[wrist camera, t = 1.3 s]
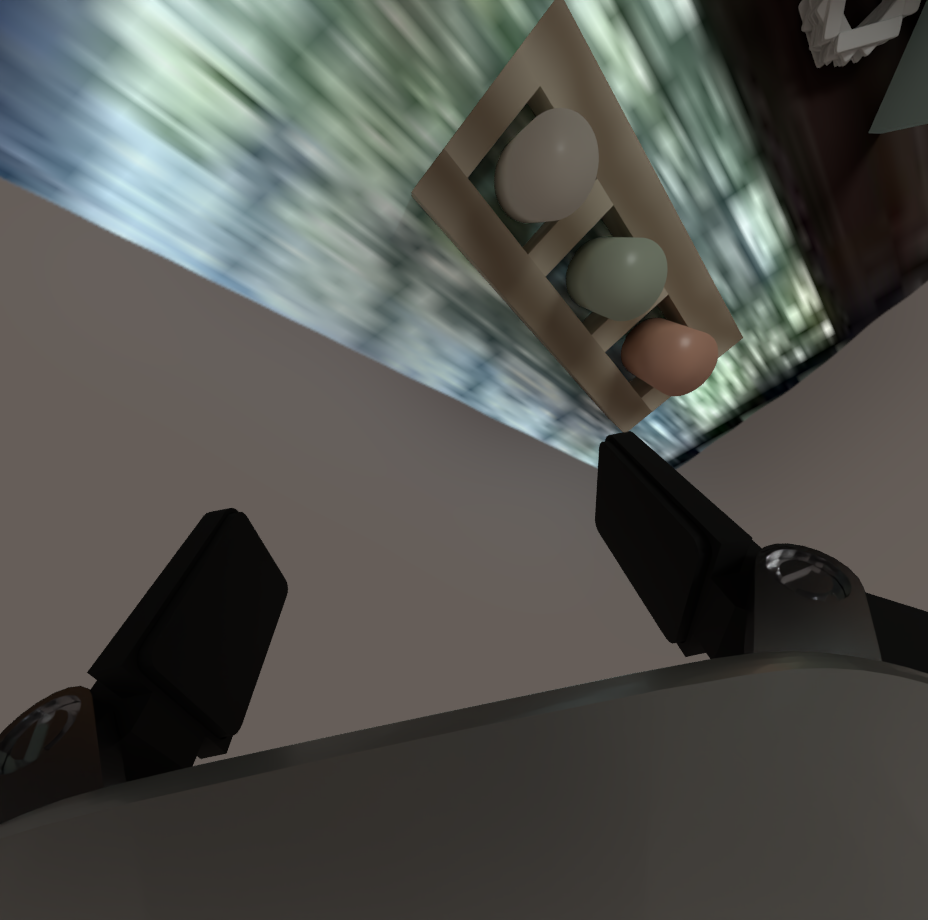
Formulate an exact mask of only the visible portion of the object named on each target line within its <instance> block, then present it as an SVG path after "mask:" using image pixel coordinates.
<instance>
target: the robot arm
mask: <svg viewBox="0 0 928 920" xmlns="http://www.w3.org/2000/svg"><path fill="white" fill-rule="evenodd" d="M595 523H596V527H597V530H598V532H599V533H600V535H601V537H602V538H603V540H604V541H605V543H606V544H607V546H608V548H609V549H610V551H611V552H612V554H613V556H614V557H615V559H616V560H617V562H618V563H619V565H620V567H621V568H622V570H623V571H624V573H625V574H626V576H627V578H628V579H629V581H630V582H631V584H632V585H633V587H634V589H635V590H636V592H637V593H638V595H639V597H640V598H641V599H642V601H643V603H644V604H645V606H646V607H647V609H648V611H649V612H650V614H651V615H652V617H653V619H654V620H655V622H656V623H657V625H658V626H659V628H660V630H661V631H662V633H663V634H664V636H665V637H666V639H667V640H668V641H669V642H671V643H677V644H678V646H679V648H680V649H681V651H682V652H683V654H684V655H685V657H688V656H692V655H697V654H702V653H707V655H708V656H709V657H710V660H703V661H698V662H693V663H688V664H682V665H677V666H671V667H666V668H661V669H656V670H650V671H644V672H639V673H633V674H629V675H624V676H619V677H614V678H609V679H604V680H599V681H595V682H589V683H585V684H580V685H575V686H570V687H565V688H560V689H555V690H550V691H545V692H541V693H536V694H531V695H526V696H521V697H516V698H511V699H506V700H502V701H497V702H492V703H487V704H482V705H478V706H473V707H468V708H463V709H459V710H454V711H449V712H444V713H440V714H435V715H430V716H425V717H421V718H416V719H411V720H406V721H402V722H397V723H392V724H388V725H383V726H378V727H374V728H369V729H364V730H359V731H354V732H350V733H345V734H340V735H335V736H331V737H326V738H321V739H317V740H312V741H307V742H303V743H298V744H294V745H289V746H284V747H280V748H275V749H270V750H266V751H261V752H257V753H252V754H248V755H243V756H238V757H234V758H229V759H224V760H220V761H215V762H211V763H206V764H201V765H197V766H193V764H194V761H195V759H196V756H198V757H199V758H201V759H203V758H207V757H212V756H217V755H222V754H226V753H227V751H228V748H229V745H230V742H231V739H232V737H233V735H235V734H236V733H237V732H238V731H239V729H240V728H241V725H242V723H243V720H244V717H245V714H246V711H247V709H248V706H249V703H250V700H251V697H252V694H253V691H254V688H255V686H256V682H257V680H258V677H259V674H260V671H261V668H262V665H263V663H264V660H265V657H266V654H267V651H268V648H269V645H270V642H271V639H272V636H273V634H274V631H275V628H276V625H277V622H278V619H279V617H280V614H281V611H282V608H283V605H284V602H285V599H286V596H287V593H288V585H287V582H286V580H285V578H284V576H283V575H282V573H281V571H280V570H279V568H278V566H277V565H276V563H275V562H274V560H273V558H272V557H271V555H270V553H269V552H268V550H267V549H266V547H265V545H264V544H263V542H262V540H261V539H260V537H259V536H258V534H257V532H256V531H255V530H254V527H253V526H252V524H251V522H250V521H249V519H248V518H247V516H246V515H245V514H244V513H243V512H238V511H237V510H236V509H234V508H229V509H223V510H218V511H213V512H209V513H206V514H205V515H204V516H203V518H202V519H201V520H200V522H199V523H198V524H197V526H196V527H195V528H194V530H193V531H192V532H191V534H190V535H189V536H188V538H187V539H186V540H185V542H184V543H183V544H182V546H181V547H180V549H179V550H178V551H177V552H176V554H175V555H174V557H173V558H172V559H171V561H170V562H169V563H168V565H167V566H166V567H165V569H164V570H163V571H162V573H161V574H160V575H159V577H158V578H157V579H156V581H155V582H154V584H153V585H152V586H151V587H150V589H149V590H148V591H147V593H146V594H145V595H144V597H143V598H142V599H141V601H140V602H139V604H138V605H137V606H136V608H135V609H134V610H133V612H132V613H131V614H130V616H129V617H128V618H127V620H126V621H125V622H124V624H123V625H122V627H121V628H120V629H119V630H118V632H117V633H116V635H115V636H114V637H113V638H112V640H111V641H110V642H109V644H108V645H107V647H106V648H105V649H104V651H103V652H102V653H101V655H100V656H99V657H98V659H97V660H96V661H95V663H94V664H93V665H92V667H91V668H90V669H89V671H88V672H87V673H88V674H90V675H91V676H92V677H94V678H95V679H96V680H97V681H96V683H95V684H94V686H93V687H92V688H91V690H90V689H88V688H85V687H82V686H76V687H68V688H66V689H63V690H61V691H58V692H55V693H53V694H51V695H50V696H48V697H46V698H45V699H42V700H41V701H39V702H37V703H36V704H35V705H33V706H32V707H30V708H29V709H28V710H26V711H25V712H23V713H22V714H21V715H20V716H19V717H17V718H16V719H15V720H14V721H13V722H12V723H11V724H10V725H8V726H7V727H6V728H5V729H4V730H3V731H2V733H1V734H0V920H928V612H926V611H923V610H920V609H917V608H914V607H910V606H907V605H904V604H901V603H897V602H894V601H891V600H888V599H885V598H882V597H878V596H875V595H871V594H868V593H866V592H865V590H864V587H863V586H862V584H861V582H860V580H859V578H858V577H857V576H856V575H855V574H854V573H853V572H852V571H851V570H850V569H849V568H848V567H847V566H845V565H844V564H842V563H841V562H839V561H838V560H837V559H835V558H833V557H831V556H829V555H827V554H824V553H823V552H820V551H818V550H815V549H812V548H808V547H805V546H800V545H794V544H773V545H769V546H766V547H764V548H761V547H760V546H758V545H757V544H756V543H755V542H754V541H753V540H752V537H751V536H750V535H749V534H747V533H746V532H745V531H744V530H743V529H742V528H741V527H739V526H738V525H737V524H736V523H735V522H734V521H732V519H730V518H729V517H728V516H727V515H726V514H725V513H724V512H722V511H721V510H720V509H719V508H718V507H717V506H716V505H715V504H713V503H712V502H711V501H710V500H709V499H708V498H706V497H705V496H704V495H703V494H702V493H701V492H700V491H699V490H698V489H696V488H695V487H694V486H693V485H692V484H690V482H688V481H687V480H686V479H685V478H684V477H683V476H682V475H681V474H679V473H678V472H677V471H676V470H675V469H674V468H673V467H671V466H670V465H669V464H668V463H667V462H666V461H665V460H664V459H662V458H661V457H660V456H659V455H658V454H657V453H656V452H654V451H653V450H652V449H651V448H650V447H649V446H648V445H647V444H645V443H644V442H643V441H642V440H641V439H640V438H639V437H637V436H636V435H635V434H634V433H633V432H631V431H628V432H623V433H617V434H612V435H608V436H607V437H606V439H605V442H601V443H600V446H599V461H598V478H597V495H596V512H595Z"/></svg>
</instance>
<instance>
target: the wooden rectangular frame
mask: <svg viewBox="0 0 928 920" xmlns="http://www.w3.org/2000/svg"><path fill="white" fill-rule="evenodd" d="M526 103H528V105H529V106H530V108H531V110H532V111H533V113H534V114H535V116H536V117H537V116H538V115H540V114H541V113H543V112H545V111H547V110H550V109H554V108H567V109H571V110H573V111H575V112H577V113H579V114H580V115H581V116H583V117H584V118H585V119H586V121H587V122H588V123H589V125H590V126H591V128H592V130H593V132H594V134H595V137H596V140H597V145H598V152H599V163H598V171H597V176H596V179H595V183H594V185H593V188H592V190H591V192H590V194H589V196H588V197H587V199H586V200H585V202H584V203H583V204H582V205H581V206H580V207H579V208H578V209H577V210H576V211H575V212H574V213H572V214H571V215H569V216H568V217H566V218H563V219H561V220H557V221H548V222H545V223H544V224H543V225H542V226H541V227H540V228H539V229H538V230H537V232H536V233H535V234H534V235H533V236H532V237H531V238H530V239H529V240H528V242H527V243H526V244H525V245H524V246H523V247H522V246H521V245H520V244H519V243H518V241H517V240H516V239H515V237H514V236H513V235H512V234H511V232H510V231H509V230H508V229H507V227H506V226H505V225H504V224H503V222H502V221H501V220H500V218H499V217H498V216H497V215H496V213H495V212H494V211H493V210H492V208H491V207H490V206H489V205H488V203H487V202H486V201H485V199H484V198H483V197H482V196H481V194H480V193H479V192H478V191H477V189H476V188H475V187H474V186H473V184H472V183H471V182H470V180H469V179H468V177H469V175H470V174H471V173H472V172H473V170H474V169H475V168H476V166H477V165H478V164H479V163H480V161H481V160H482V159H483V158H484V156H485V155H486V154H487V153H488V151H489V150H490V149H491V147H492V146H493V145H494V144H495V142H496V141H497V140H498V139H499V137H500V136H501V135H502V134H503V132H504V131H505V130H506V128H507V127H508V126H509V125H510V123H511V122H512V121H513V120H514V118H515V117H516V116H517V115H518V113H519V112H520V111H521V109H522V108H523V107H524V106H525V104H526ZM412 197H413V198H414V199H415V200H416V202H417V203H418V204H419V205H420V206H421V207H422V208H423V210H424V211H425V212H426V213H427V214H428V215H429V216H430V217H431V219H432V220H433V221H434V222H435V223H436V224H437V225H438V226H439V228H440V229H441V230H442V231H443V232H444V233H445V234H446V235H447V237H448V238H449V239H450V240H451V241H452V242H453V243H454V244H455V246H456V247H457V248H458V249H459V250H460V251H461V252H462V254H463V255H464V256H465V257H466V258H467V259H468V260H469V261H470V263H471V264H472V265H473V266H474V267H475V268H476V269H477V270H478V272H479V273H480V274H481V275H482V276H483V277H484V278H485V279H486V281H487V282H488V283H489V284H490V285H491V286H492V287H493V288H494V290H495V291H496V292H497V293H498V294H499V295H500V296H501V298H502V299H503V300H504V301H505V302H506V303H507V304H508V305H509V307H510V308H511V309H512V310H513V311H514V312H515V313H516V314H517V316H518V317H519V318H520V319H521V320H522V321H523V322H524V323H525V325H526V326H527V327H528V328H529V329H530V330H531V331H532V332H533V334H534V335H535V336H536V337H537V338H538V339H539V340H540V342H541V343H542V344H543V345H544V346H545V347H546V348H547V349H548V351H549V352H550V353H551V354H552V355H553V356H554V357H555V358H556V360H557V361H558V362H559V363H560V364H561V365H562V366H563V367H564V369H565V370H566V371H567V372H568V373H569V374H570V375H571V376H572V378H573V379H574V380H575V381H576V382H577V383H578V384H579V385H580V387H581V388H582V389H583V390H584V391H585V392H586V393H587V395H588V396H589V397H590V398H591V399H592V400H593V401H594V402H595V404H596V405H597V406H598V407H599V408H600V409H601V410H602V411H603V413H604V414H605V415H606V416H607V417H608V418H609V419H610V420H611V421H612V422H613V423H614V424H615V425H616V426H617V427H618V428H619V429H620V430H621V431H622V432H628V431H629V430H630V429H631V428H633V427H634V426H635V425H636V424H638V423H639V422H640V421H641V420H642V419H644V418H645V417H646V416H647V415H649V414H650V413H651V412H652V411H654V410H655V409H656V408H657V407H658V406H660V405H661V404H662V403H663V402H665V401H666V400H667V399H668V398H670V397H671V396H668V395H665V394H663V393H662V392H660V391H659V390H657V389H655V388H654V387H652V386H651V385H649V384H647V383H646V382H644V381H643V380H641V379H640V378H638V377H635V378H634V379H632V380H631V381H630V382H628V381H627V379H626V378H625V377H624V376H623V374H622V373H621V372H620V371H619V369H618V368H617V367H616V365H615V364H614V363H613V362H612V360H611V359H610V358H609V357H608V355H607V354H606V353H605V352H606V351H607V350H608V349H609V348H610V347H611V346H612V345H613V344H615V343H616V342H617V341H618V340H619V339H620V338H621V337H622V336H623V335H624V334H626V333H627V332H628V331H629V330H630V329H631V328H632V327H633V326H634V325H635V324H636V323H638V322H639V321H640V320H641V319H642V318H643V317H644V316H645V315H646V314H647V313H649V312H650V311H651V310H652V309H653V308H654V307H655V306H656V305H657V306H658V307H659V309H660V310H661V312H662V313H663V315H664V316H665V318H666V320H669V321H672V322H675V323H678V324H681V325H684V326H687V327H690V328H693V329H696V330H699V331H702V332H705V333H707V334H709V335H711V336H712V337H713V338H714V339H715V341H716V343H717V346H718V358H719V357H720V356H721V355H722V354H724V353H725V352H726V351H727V350H729V349H730V348H731V347H732V346H734V345H735V344H736V343H737V342H738V341H740V340H741V339H742V338H743V337H742V335H741V333H740V331H739V329H738V327H737V325H736V323H735V322H734V320H733V318H732V316H731V314H730V312H729V310H728V308H727V306H726V305H725V303H724V301H723V299H722V297H721V295H720V293H719V291H718V290H717V288H716V286H715V284H714V282H713V280H712V278H711V276H710V274H709V273H708V271H707V269H706V267H705V265H704V263H703V261H702V259H701V257H700V256H699V254H698V252H697V250H696V248H695V246H694V244H693V242H692V241H691V239H690V237H689V235H688V233H687V231H686V229H685V227H684V225H683V224H682V222H681V220H680V218H679V216H678V214H677V212H676V210H675V208H674V207H673V205H672V203H671V201H670V199H669V197H668V195H667V193H666V191H665V190H664V188H663V186H662V184H661V182H660V180H659V178H658V176H657V175H656V173H655V171H654V169H653V167H652V165H651V163H650V161H649V159H648V158H647V156H646V154H645V152H644V150H643V148H642V146H641V144H640V142H639V141H638V139H637V137H636V135H635V133H634V131H633V129H632V127H631V126H630V124H629V122H628V120H627V118H626V116H625V114H624V112H623V110H622V109H621V107H620V105H619V103H618V101H617V99H616V97H615V95H614V93H613V92H612V90H611V88H610V86H609V84H608V82H607V80H606V78H605V77H604V75H603V73H602V71H601V69H600V67H599V65H598V63H597V61H596V60H595V58H594V56H593V54H592V52H591V50H590V48H589V46H588V44H587V43H586V41H585V39H584V37H583V35H582V33H581V31H580V29H579V28H578V26H577V24H576V22H575V20H574V18H573V16H572V14H571V12H570V11H569V9H568V7H567V5H566V3H565V1H564V0H554V2H553V3H552V4H551V6H550V7H549V8H548V10H547V11H546V12H545V14H544V15H543V16H542V18H541V19H540V20H539V22H538V23H537V24H536V26H535V27H534V29H533V30H532V31H531V33H530V34H529V35H528V37H527V38H526V39H525V41H524V42H523V43H522V45H521V46H520V47H519V49H518V50H517V51H516V53H515V54H514V55H513V57H512V58H511V59H510V61H509V62H508V63H507V65H506V66H505V67H504V69H503V70H502V71H501V73H500V74H499V75H498V77H497V78H496V79H495V81H494V82H493V83H492V85H491V86H490V87H489V89H488V90H487V91H486V93H485V94H484V95H483V97H482V98H481V99H480V101H479V102H478V103H477V105H476V106H475V107H474V109H473V110H472V112H471V113H470V114H469V116H468V117H467V118H466V120H465V121H464V122H463V124H462V125H461V126H460V128H459V129H458V130H457V132H456V133H455V134H454V136H453V137H452V138H451V140H450V141H449V142H448V144H447V145H446V146H445V148H444V149H443V150H442V152H441V153H440V154H439V156H438V157H437V158H436V160H435V161H434V162H433V164H432V165H431V166H430V168H429V169H428V170H427V172H426V173H425V174H424V176H423V177H422V178H421V180H420V181H419V182H418V184H417V185H416V186H415V188H414V189H413V191H412ZM601 218H602V220H603V222H604V223H605V225H606V226H607V228H608V229H609V231H610V232H611V234H612V236H613V237H635V238H647V239H650V240H652V241H654V242H656V243H657V244H658V245H659V246H660V247H661V248H662V250H663V252H664V254H665V256H666V260H667V278H666V282H665V285H664V288H663V290H662V292H661V294H660V296H659V298H658V299H657V301H656V302H655V303H654V304H653V306H652V307H651V308H650V309H649V310H647V311H646V312H645V313H644V314H642V315H641V316H639V317H637V318H635V319H632V320H628V321H615V320H611V319H609V318H607V317H604V316H602V315H600V314H597V313H595V312H592V313H591V314H590V315H589V316H588V317H587V318H586V319H585V320H584V321H583V322H581V321H580V320H579V319H578V317H577V316H576V315H575V314H574V312H573V311H572V310H571V308H570V307H569V306H568V305H567V303H566V302H565V301H564V300H563V298H562V297H561V296H560V295H559V293H558V292H557V291H556V289H555V288H554V287H553V286H552V284H551V283H550V282H549V281H548V279H547V278H546V276H547V275H548V273H549V272H550V271H551V270H552V269H553V268H554V267H555V266H556V265H557V264H558V263H559V262H560V261H561V260H562V259H563V258H564V257H565V256H566V255H567V253H568V252H569V251H570V250H571V249H572V248H573V247H574V246H575V245H576V244H577V243H578V242H579V241H580V240H581V239H582V238H583V237H584V236H585V235H586V234H587V232H588V231H589V230H590V229H591V228H592V227H593V226H594V225H595V224H596V223H597V222H598V221H599V220H600V219H601Z"/></svg>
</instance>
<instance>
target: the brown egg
mask: <svg viewBox="0 0 928 920" xmlns="http://www.w3.org/2000/svg"><path fill="white" fill-rule="evenodd" d="M717 359H718V346H717V343H716V341H715V339H714V338H713V337H712V336H711V335H709V334H707V333H705V332H702V331H699V330H696V329H693V328H690V327H687V326H684V325H681V324H678V323H675V322H672V321H669V320H666V319H663V318H651V319H647V320H645V321H643V322H641V323H639V324H638V325H637V326H635V327H634V328H633V329H632V330H631V331H630V333H629V334H628V335H627V337H626V339H625V341H624V343H623V346H622V350H621V360H622V363H623V366H624V367H625V369H626V370H627V371H629V372H630V373H632V374H633V375H635V376H636V377H638V378H640V379H641V380H643V381H644V382H646V383H647V384H649V385H651V386H652V387H654V388H655V389H657V390H659V391H660V392H662V393H663V394H665V395H668V396H681V395H685V394H688V393H690V392H692V391H694V390H695V389H697V388H698V387H699V386H701V385H702V384H703V383H704V382H705V381H706V380H707V379H708V377H709V376H710V375H711V373H712V372H713V370H714V368H715V365H716V363H717Z"/></svg>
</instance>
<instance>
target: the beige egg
mask: <svg viewBox="0 0 928 920" xmlns="http://www.w3.org/2000/svg"><path fill="white" fill-rule="evenodd" d="M598 163H599V152H598V145H597V140H596V137H595V134H594V132H593V130H592V128H591V126H590V125H589V123H588V122H587V121H586V119H585V118H584V117H583V116H581V115H580V114H579V113H577V112H575V111H573V110H571V109H567V108H554V109H550V110H547V111H545V112H543V113H541V114H540V115H538V116H537V117H536V118H534V119H533V120H532V121H531V122H530V123H529V124H528V125H527V126H526V127H525V128H524V129H523V130H521V131H520V132H519V133H518V134H517V135H516V136H515V137H514V138H513V139H512V140H511V141H510V142H509V143H508V144H507V145H506V146H505V148H504V149H503V151H502V153H501V154H500V156H499V159H498V161H497V165H496V168H495V174H494V188H495V194H496V198H497V200H498V203H499V205H500V207H501V208H502V210H503V211H504V212H505V214H506V215H507V216H509V217H510V218H511V219H513V220H515V221H517V222H520V223H537V222H548V221H557V220H561V219H563V218H566V217H568V216H569V215H571V214H572V213H574V212H575V211H576V210H577V209H578V208H579V207H580V206H581V205H582V204H583V203H584V202H585V200H586V199H587V197H588V196H589V194H590V192H591V190H592V188H593V185H594V183H595V179H596V176H597V171H598Z"/></svg>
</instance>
